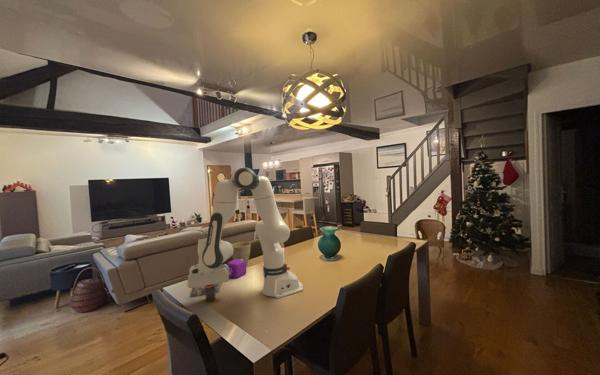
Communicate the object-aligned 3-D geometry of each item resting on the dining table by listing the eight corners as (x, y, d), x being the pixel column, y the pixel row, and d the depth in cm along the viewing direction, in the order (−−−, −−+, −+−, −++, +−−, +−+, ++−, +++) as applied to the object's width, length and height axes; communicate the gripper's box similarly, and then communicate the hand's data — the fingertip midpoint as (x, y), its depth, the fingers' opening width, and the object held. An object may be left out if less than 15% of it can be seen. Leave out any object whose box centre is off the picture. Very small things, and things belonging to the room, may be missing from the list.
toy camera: (221, 279, 154) (220, 264, 154) (234, 271, 167) (233, 257, 166) (236, 281, 150) (235, 265, 150) (248, 272, 163) (247, 258, 163)
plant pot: (248, 261, 186) (246, 240, 186) (255, 266, 174) (253, 244, 173) (228, 265, 179) (227, 244, 178) (234, 271, 166) (232, 248, 165)
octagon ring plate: (219, 282, 150) (218, 275, 150) (218, 292, 136) (218, 284, 136) (194, 286, 146) (194, 279, 145) (191, 297, 132) (191, 289, 132)
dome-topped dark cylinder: (215, 296, 132) (214, 282, 131) (215, 300, 127) (214, 285, 127) (206, 298, 130) (205, 283, 130) (205, 302, 126) (204, 287, 125)
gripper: (228, 261, 134) (229, 286, 134) (187, 267, 127) (189, 293, 128) (228, 265, 128) (230, 291, 128) (186, 271, 121) (187, 299, 122)
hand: (209, 292), depth 128 cm, fingers open, 8 cm apart
